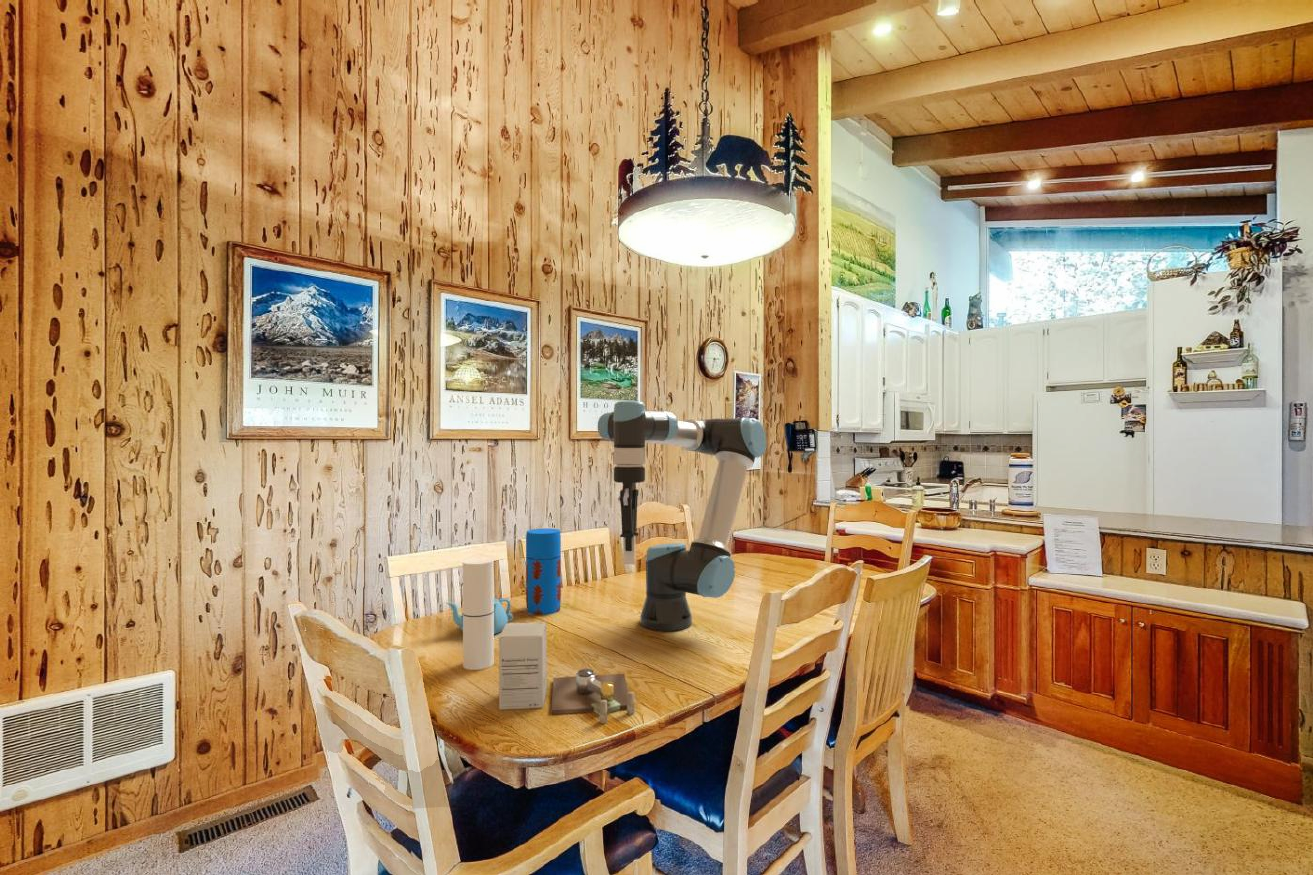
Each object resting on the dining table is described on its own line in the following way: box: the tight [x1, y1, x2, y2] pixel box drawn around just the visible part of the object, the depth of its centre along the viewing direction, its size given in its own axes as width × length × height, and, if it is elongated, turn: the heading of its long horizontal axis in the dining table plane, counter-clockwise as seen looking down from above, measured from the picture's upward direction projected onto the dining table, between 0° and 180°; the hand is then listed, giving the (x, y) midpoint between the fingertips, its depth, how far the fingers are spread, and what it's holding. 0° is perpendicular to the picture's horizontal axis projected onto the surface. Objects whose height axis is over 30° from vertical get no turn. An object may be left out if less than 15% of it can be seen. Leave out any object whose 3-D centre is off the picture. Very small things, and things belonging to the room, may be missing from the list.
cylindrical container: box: [462, 557, 495, 671], centre depth 145 cm, size 7×7×25 cm
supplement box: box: [498, 621, 548, 711], centre depth 125 cm, size 9×9×15 cm
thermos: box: [525, 527, 562, 616], centre depth 189 cm, size 11×11×25 cm
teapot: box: [445, 597, 514, 635], centre depth 169 cm, size 15×15×10 cm
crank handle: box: [575, 668, 614, 702], centre depth 125 cm, size 12×4×4 cm, turn 38°
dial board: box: [551, 673, 635, 725], centre depth 125 cm, size 16×21×4 cm
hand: (629, 563), depth 144 cm, fingers closed
